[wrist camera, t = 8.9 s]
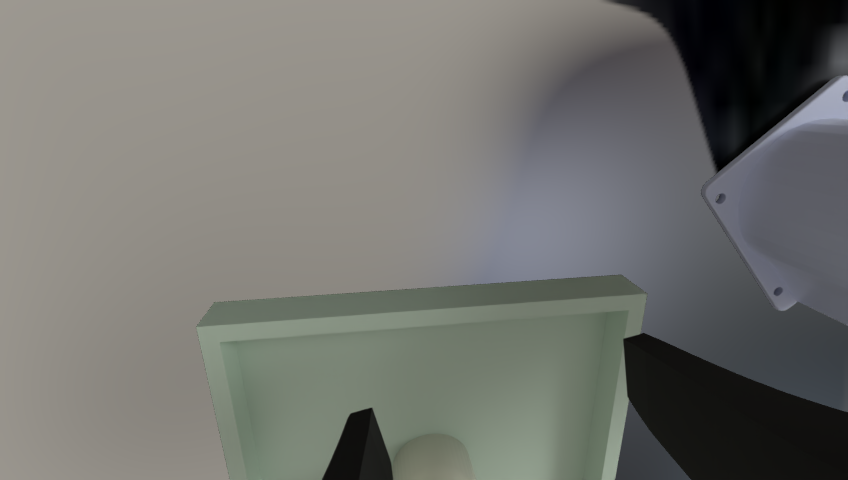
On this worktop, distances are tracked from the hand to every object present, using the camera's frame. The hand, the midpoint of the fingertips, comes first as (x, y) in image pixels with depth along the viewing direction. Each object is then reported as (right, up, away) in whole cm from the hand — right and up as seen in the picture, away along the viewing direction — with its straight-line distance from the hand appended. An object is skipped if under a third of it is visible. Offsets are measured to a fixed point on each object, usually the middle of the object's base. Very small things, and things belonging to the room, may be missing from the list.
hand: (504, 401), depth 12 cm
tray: (-2, -8, +13) cm, 15 cm away
